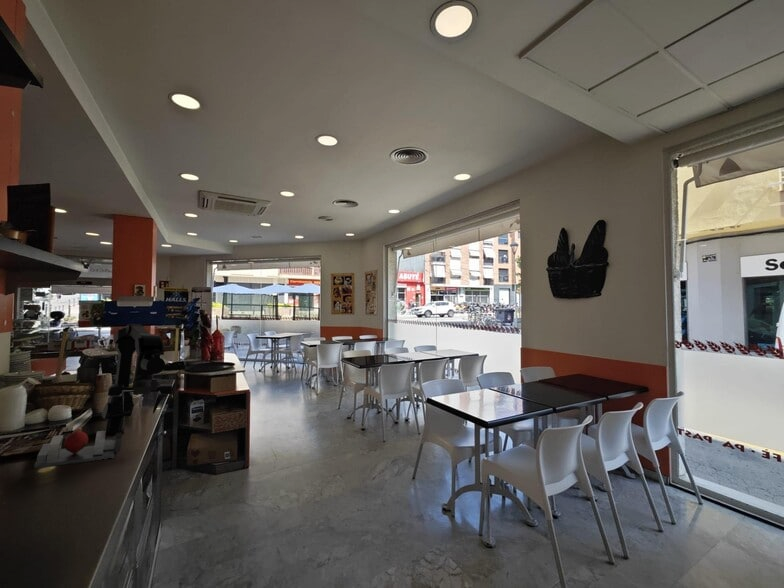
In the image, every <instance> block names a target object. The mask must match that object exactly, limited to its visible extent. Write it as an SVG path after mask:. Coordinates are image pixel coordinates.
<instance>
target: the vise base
mask: <svg viewBox="0 0 784 588" xmlns="http://www.w3.org/2000/svg"><path fill="white" fill-rule="evenodd" d="M63 439H64V434H62V435H61V434H59V435H53V436H52V438H51V440H50V442H49V443H43V445H42V446H41V448H40V451H39V452H38V454H37V457H36V460H35V461H36V462H35V463H34V466H33V467H34V469H37V468H38V469H39V468H46V467H54V466H62V465H70V464H79V463H86V462H94V461H95V460H96V461H103V460H102V459H104V460H109V459H108V458H112V459H115V457H116V452H114V449H110V450H103V454H99V455H93V452H94V446H95V445H88V446H87V445H86V446H85V447H84V448H83V449H81V450H80V451H78V452H77V453H71V452H69V451H67V450H66V448H62V445H63Z"/></svg>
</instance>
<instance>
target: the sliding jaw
mask: <svg viewBox="0 0 784 588" xmlns="http://www.w3.org/2000/svg"><path fill="white" fill-rule="evenodd" d="M105 433H106V431H104V430H98V431H96V435H95V441H94V445H93V446H94V452H93V455H99V454H103V450H110V449H114V452H115V453H116V452H120V451H121V448H122V447H121V446H122V440H123V434H122V432H120V433H116V434H115V436H114V437H115V438H109V439H106V435H105Z"/></svg>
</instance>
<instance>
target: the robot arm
mask: <svg viewBox="0 0 784 588" xmlns="http://www.w3.org/2000/svg"><path fill="white" fill-rule="evenodd" d="M113 344H114V349H115V350H116V352H117V353H118V357H117V363H116V364H117V365H116V372H115V373H116V374H115V376H116V380H115V385H109V387H108V392H107V396H108V398H107V402H106V403H105V405H104V407H103V408H102V411H101V417H102V419H104V420H105V427H104V429H103V431H106V433H105V436H109V435H110V436H111V435H112V436H113V435H116V433H120V432H122V435H123V434H125V427H124V426H125V418H126V417H131V416H132V413H133V409H134V407H135V403H134V399H133V398H134V396H139V395H147V396H148V395H150V393H153V392H155V393H157V394H156V398H155V401H154V405H153V409H152V414H155V412H156V411H157V408H158V407H159V405H160V403H161V402H162V400H163V399H164V397H168V395H172V394H173V389H174V388H173V384H172V383H160V384H159V379H154V375H158V374H160V373H162V372H163V370H165V368H166V362H165V360H164V359H163V358H162V357H161V356H164V354H165V351H166V348H165V344H164V341H163V338H162V336H160V335H158V334H152V333H150V332H149V331H148V330H147V329H146V328H145V327H144V325H143V324H139V323H128V324H126V326H125V327H123V328H121V329H119V330H117V332H116V333H115V334H114V337H113ZM135 352H136V354H137V355H136V362H135V369H134V375H133V378H134V379H133V386H132V387H129V381H130V375H131V369H132V365H133V363H132V362H133V354H134V353H135ZM158 384H159V386H158ZM130 392H132V393H131V394H130ZM133 395H134V396H133Z"/></svg>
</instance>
